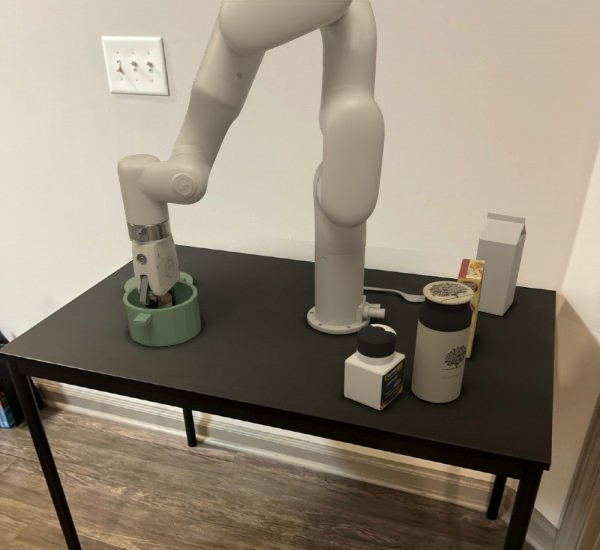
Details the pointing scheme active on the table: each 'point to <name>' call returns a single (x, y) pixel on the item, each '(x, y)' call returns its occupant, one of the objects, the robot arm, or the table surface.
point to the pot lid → (132, 281)
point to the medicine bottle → (374, 368)
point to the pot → (164, 317)
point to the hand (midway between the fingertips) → (163, 319)
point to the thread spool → (165, 300)
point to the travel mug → (442, 341)
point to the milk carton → (500, 261)
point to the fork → (407, 296)
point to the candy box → (473, 278)
